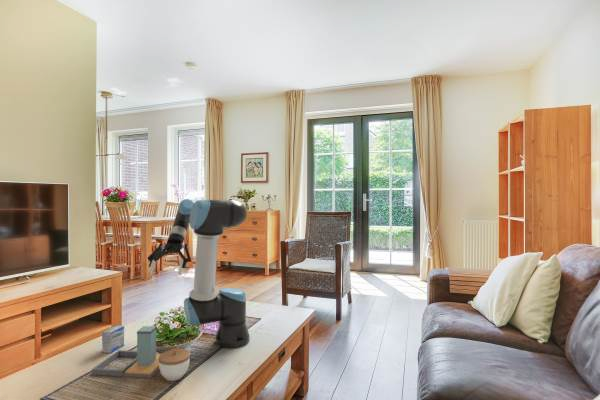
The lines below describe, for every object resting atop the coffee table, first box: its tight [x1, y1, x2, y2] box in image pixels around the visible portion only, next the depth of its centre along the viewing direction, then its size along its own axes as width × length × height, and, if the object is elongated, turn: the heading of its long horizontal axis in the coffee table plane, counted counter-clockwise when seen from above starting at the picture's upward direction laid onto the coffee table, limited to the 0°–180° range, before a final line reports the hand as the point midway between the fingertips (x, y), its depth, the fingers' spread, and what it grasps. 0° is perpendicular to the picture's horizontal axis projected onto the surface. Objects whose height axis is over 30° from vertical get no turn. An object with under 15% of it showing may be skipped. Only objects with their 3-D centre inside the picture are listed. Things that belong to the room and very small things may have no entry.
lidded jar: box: [159, 348, 191, 382], centre depth 123 cm, size 11×11×9 cm
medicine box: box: [101, 324, 125, 354], centre depth 145 cm, size 8×4×9 cm, turn 168°
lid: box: [121, 353, 161, 379], centre depth 130 cm, size 11×16×1 cm
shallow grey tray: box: [91, 349, 137, 377], centre depth 131 cm, size 12×16×2 cm
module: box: [136, 325, 157, 366], centre depth 130 cm, size 5×5×13 cm
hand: (164, 273), depth 156 cm, fingers open, 13 cm apart
